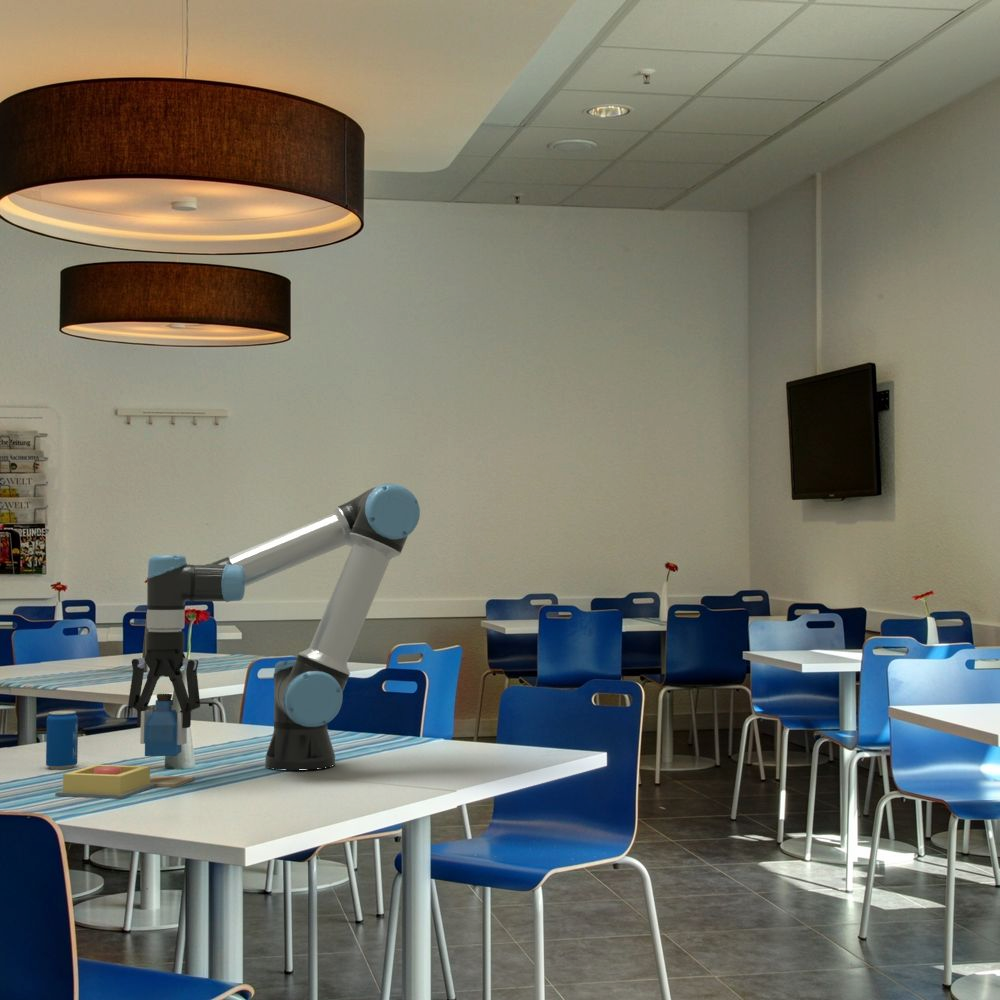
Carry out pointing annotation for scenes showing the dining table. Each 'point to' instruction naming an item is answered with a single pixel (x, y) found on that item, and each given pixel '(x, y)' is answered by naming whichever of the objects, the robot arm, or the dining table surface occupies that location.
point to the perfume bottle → (162, 729)
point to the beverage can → (62, 740)
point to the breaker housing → (106, 782)
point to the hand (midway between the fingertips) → (163, 743)
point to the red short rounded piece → (108, 770)
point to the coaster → (169, 780)
